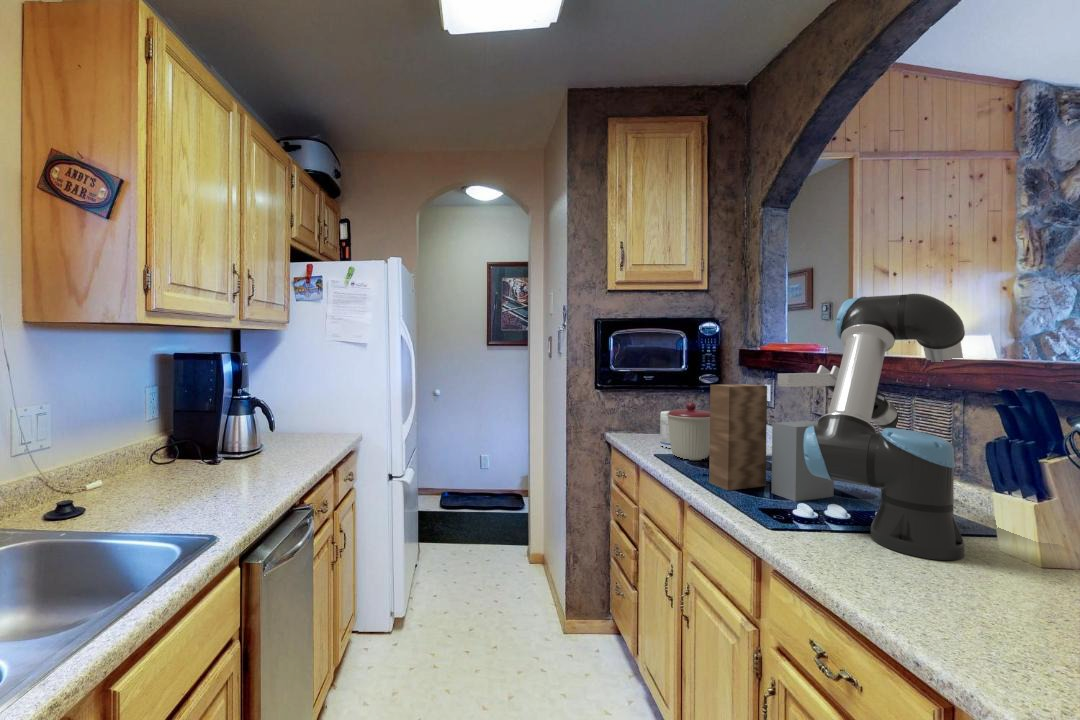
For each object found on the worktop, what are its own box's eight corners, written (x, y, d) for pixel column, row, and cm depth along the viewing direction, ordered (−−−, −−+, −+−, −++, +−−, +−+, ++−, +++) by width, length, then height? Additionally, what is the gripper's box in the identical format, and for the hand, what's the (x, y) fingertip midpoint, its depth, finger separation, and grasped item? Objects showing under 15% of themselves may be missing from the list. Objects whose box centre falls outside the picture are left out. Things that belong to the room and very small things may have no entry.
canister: (686, 465, 165) (687, 405, 165) (656, 454, 182) (656, 400, 182) (726, 461, 172) (727, 404, 172) (693, 451, 189) (693, 399, 188)
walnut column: (745, 479, 147) (746, 384, 146) (765, 486, 139) (767, 385, 139) (709, 483, 142) (710, 384, 142) (727, 490, 135) (729, 386, 134)
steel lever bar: (842, 384, 138) (842, 372, 138) (854, 384, 135) (854, 372, 135) (777, 386, 130) (777, 373, 130) (787, 387, 126) (788, 374, 126)
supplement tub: (668, 443, 204) (669, 410, 204) (688, 447, 197) (688, 412, 197) (655, 446, 198) (655, 411, 198) (674, 450, 191) (674, 414, 190)
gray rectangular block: (808, 488, 137) (809, 420, 137) (833, 496, 130) (834, 424, 129) (771, 493, 132) (772, 422, 132) (795, 501, 125) (796, 427, 125)
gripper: (900, 422, 132) (848, 383, 125) (844, 415, 148) (796, 379, 141) (909, 399, 133) (859, 358, 126) (853, 394, 149) (805, 357, 142)
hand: (826, 369), depth 133 cm, fingers closed on steel lever bar, 3 cm apart
